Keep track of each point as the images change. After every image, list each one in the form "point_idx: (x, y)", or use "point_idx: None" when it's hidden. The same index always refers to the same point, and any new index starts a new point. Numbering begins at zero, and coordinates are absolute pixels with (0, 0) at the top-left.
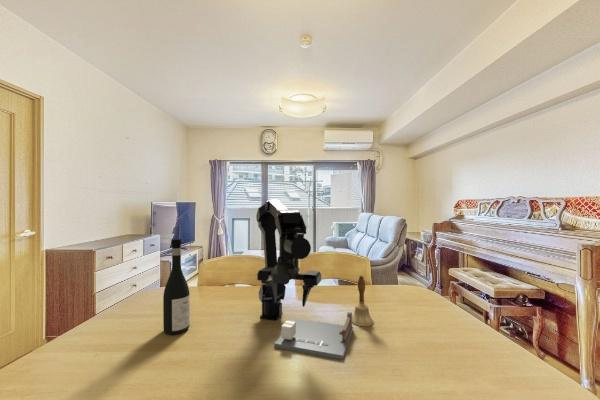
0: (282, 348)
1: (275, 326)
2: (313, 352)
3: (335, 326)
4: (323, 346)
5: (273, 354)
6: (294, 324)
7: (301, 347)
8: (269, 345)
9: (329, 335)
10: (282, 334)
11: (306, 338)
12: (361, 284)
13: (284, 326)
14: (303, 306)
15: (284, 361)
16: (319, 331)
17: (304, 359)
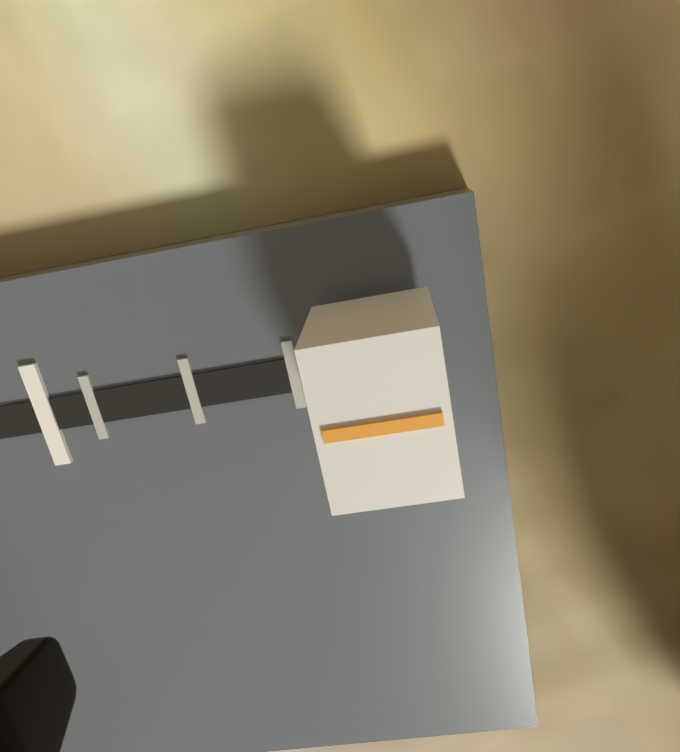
0: (372, 206)
1: (676, 554)
2: (47, 269)
3: (120, 728)
4: (3, 382)
5: (400, 61)
6: (321, 463)
7: (166, 263)
8: (539, 199)
9: (73, 576)
10: (418, 297)
11: (223, 439)
12: None
13: (394, 332)
14: (30, 639)
15: (222, 3)
16: (192, 603)
17: (78, 148)
